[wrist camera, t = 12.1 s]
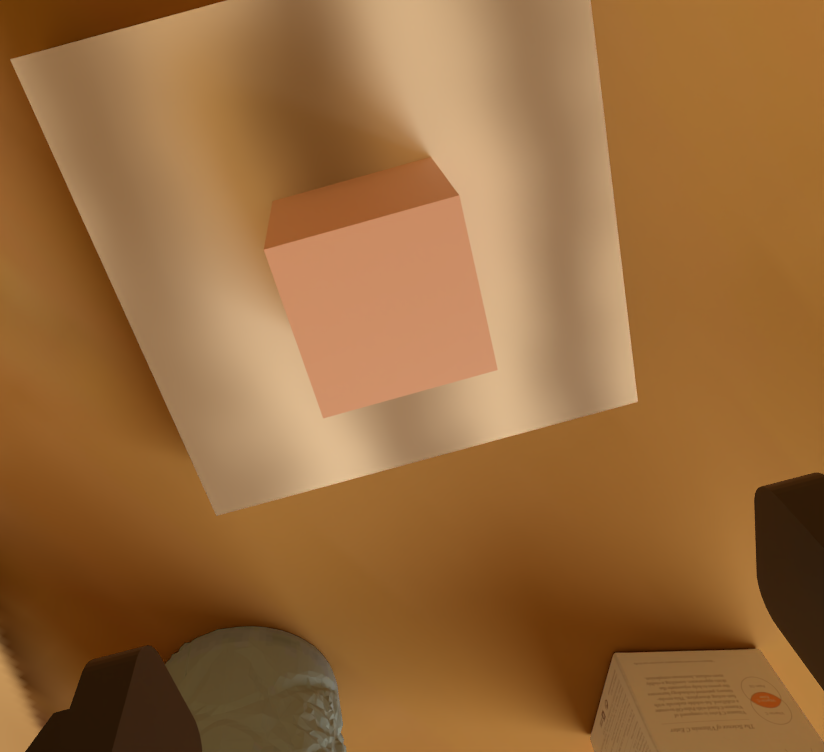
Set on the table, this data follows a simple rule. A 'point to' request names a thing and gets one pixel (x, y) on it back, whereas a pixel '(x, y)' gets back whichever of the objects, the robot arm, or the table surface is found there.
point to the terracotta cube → (380, 286)
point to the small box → (699, 705)
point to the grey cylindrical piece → (259, 692)
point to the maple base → (329, 164)
